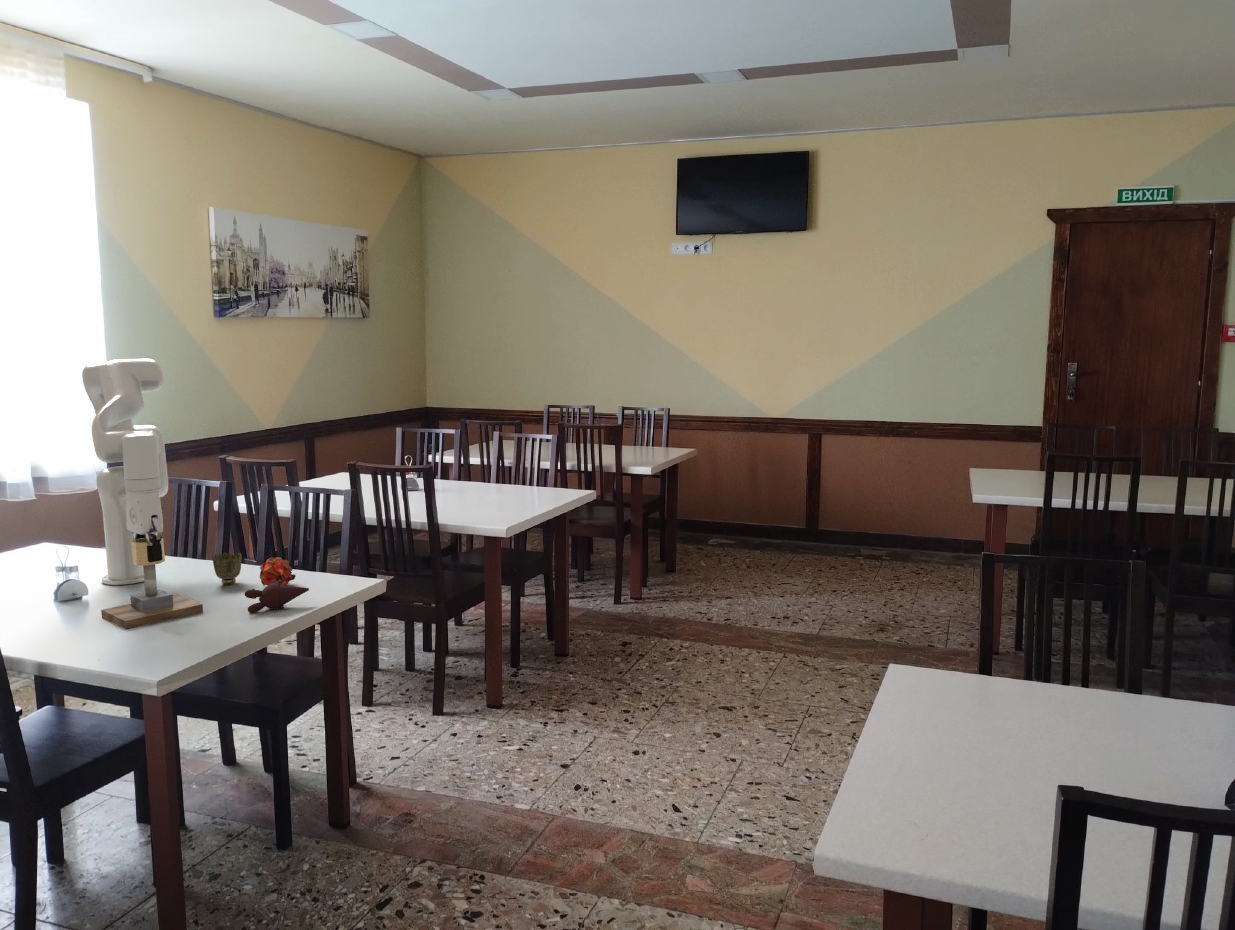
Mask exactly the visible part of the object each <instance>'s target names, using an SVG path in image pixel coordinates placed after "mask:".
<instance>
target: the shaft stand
mask: <svg viewBox="0 0 1235 930" xmlns="http://www.w3.org/2000/svg"><path fill="white" fill-rule="evenodd" d="M143 571H144V581H143V583H144V592H141V593H140V592H139V593H135V594H131V595H129V596H130V603H127V604H121V605H118V606H113V607H108V608H104V609H101V610H100V611H101V612H100V613H101V619H103V620H105V621H107V622H110V623H111V624H113V625H116V626H118V627H120V628H122V629H124V630H129V629H134V628H138V627H143V626H147V625H151V624H156V623H162V622H165V621H169V620H173V619H178V618H182V617H183V618H184V617H187V616H192V615H195V614H196V615H197V614H200V613H204V605H203V603H202V602H198V601H195V600H193V599H190V598H187V597H186V596H183V595H180V594H177V593H176V594H173V593H170V592H167V591H165V590H163V589H158V585H157V570H156V564H154V565H145V566H143Z"/></svg>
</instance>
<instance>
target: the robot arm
mask: <svg viewBox="0 0 1235 930" xmlns="http://www.w3.org/2000/svg"><path fill="white" fill-rule="evenodd" d="M81 376H82V383H83V384H82V385H83V387H84V391H85V393H86V395H87V396H88V398H89V400H90V403H91V404H92V406H93V408H94V412H95V416H94V418H93V420H92V425H91V436H92V442H93V446H94V447H93V449H94V451H95V454H96V457H97V458H98V459H99V460H100V461H101V462H103V463H107V464H110V463H112V464H113V463H123V465H121V466H119V465H118V466H111V467H107V468H104V469H102V470H100V472H99V473H97V476H96V480H95V481H96V488H97V492H98V496H99V500H100V505H101V511H102V521H103V531H104V541H105V555H106V567H107V568H106V569H107V575H104V576H103V577H102V578H101V583H103V584H104V585H109V586H110V585H111V586H119V585H121V586H122V585H133V584H137V583H139V584H140V583H144V571H143V566H137V565H134V564H133V560H132V548H131V541H133V540H135V539H140V538H147V542H148V546H147V557H148V562H156V561H161V560H162V546H161V544H162V540H161V539H162V538H163V534H164V521H163V520H164V518H163V511H162V502H161V498H163V497H165V495H167V493H168V491H169V474H168V467H167V466H168V464H167V458H166V457H167V456H166V448H165V447H166V446H165V440H164V435H163V433H162V431H161V429H160V428H159V427H158V426H155V425H153V424H152V425H151V424H142V425H141V424H140V425H134V424H133V421H132V419H134V418H135V417H137V416H139V415H140V414H142V412H143V411H144V407H145V401H144V397H143V394H146V393H147V394H148V393H154V392H159V391H160V390H161V389H162V387H163V384H164V374H163V370H162V367H161V365H160V364H159V363H158V361H157V360H155V359H153V358H125V359H123V358H122V359H112V360H109V361H106V362H105V361H104V362H102V361H101V362H95V363H90V364H88V365H86V366H85V367H83V369H82V374H81ZM151 537H152V539H151Z"/></svg>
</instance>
